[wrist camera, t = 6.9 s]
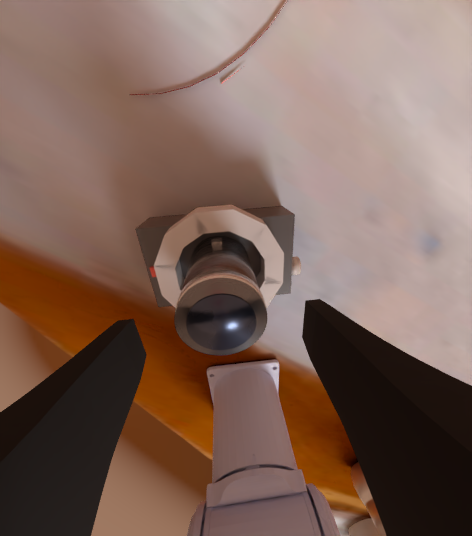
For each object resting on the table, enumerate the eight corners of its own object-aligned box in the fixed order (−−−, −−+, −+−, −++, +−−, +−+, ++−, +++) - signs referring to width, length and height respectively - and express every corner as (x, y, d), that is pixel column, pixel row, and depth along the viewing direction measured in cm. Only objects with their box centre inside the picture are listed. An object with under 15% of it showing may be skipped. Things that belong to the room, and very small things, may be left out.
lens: (251, 285, 15) (269, 353, 10) (195, 291, 15) (182, 363, 10) (248, 230, 14) (268, 276, 8) (184, 237, 13) (162, 287, 8)
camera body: (288, 282, 19) (307, 314, 15) (169, 295, 19) (156, 331, 15) (292, 191, 16) (318, 201, 12) (146, 204, 15) (120, 219, 11)
